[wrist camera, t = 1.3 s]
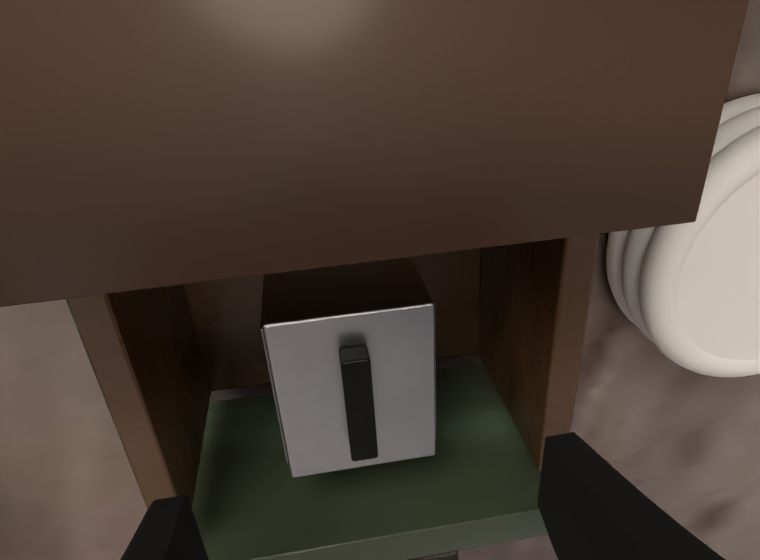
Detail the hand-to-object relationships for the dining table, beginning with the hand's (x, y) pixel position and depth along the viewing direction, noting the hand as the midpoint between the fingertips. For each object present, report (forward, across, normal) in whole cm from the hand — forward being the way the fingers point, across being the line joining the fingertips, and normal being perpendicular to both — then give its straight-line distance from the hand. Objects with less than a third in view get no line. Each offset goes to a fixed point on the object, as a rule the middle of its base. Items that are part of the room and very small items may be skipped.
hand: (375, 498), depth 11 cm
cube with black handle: (+8, 0, 0) cm, 8 cm away
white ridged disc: (+10, -15, 0) cm, 18 cm away
